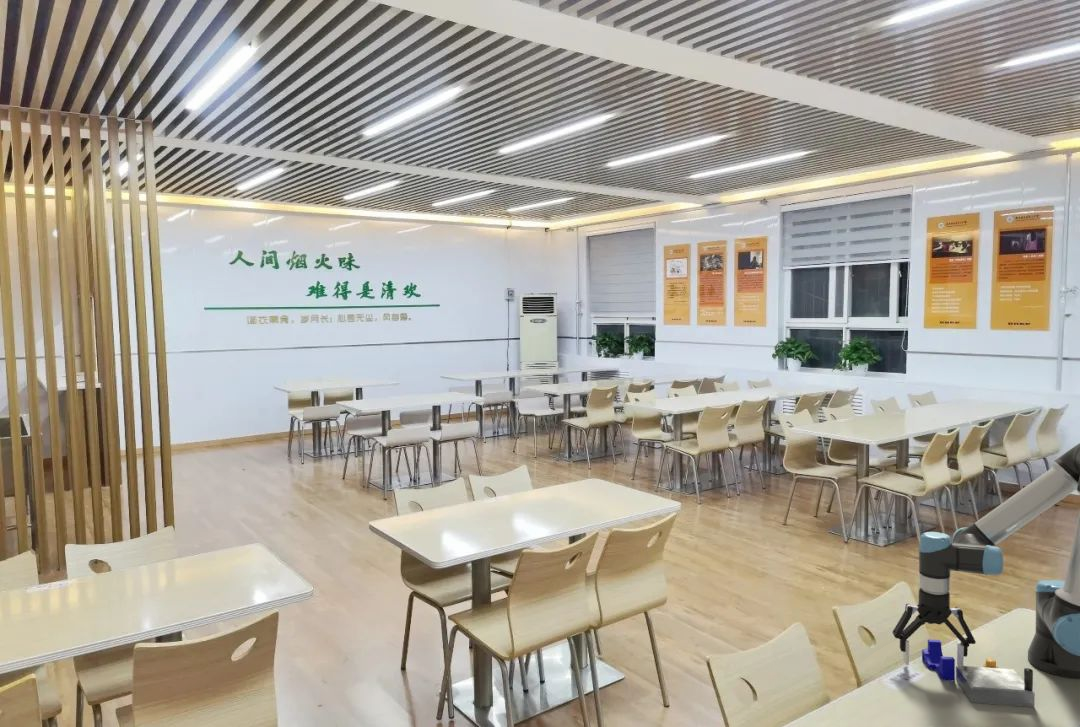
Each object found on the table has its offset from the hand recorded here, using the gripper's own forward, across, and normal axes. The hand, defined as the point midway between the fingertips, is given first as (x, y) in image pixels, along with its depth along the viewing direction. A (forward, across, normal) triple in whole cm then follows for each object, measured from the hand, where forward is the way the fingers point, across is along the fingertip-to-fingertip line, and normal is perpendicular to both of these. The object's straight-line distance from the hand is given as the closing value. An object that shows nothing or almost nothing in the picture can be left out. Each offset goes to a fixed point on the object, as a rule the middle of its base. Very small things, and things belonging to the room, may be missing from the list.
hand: (932, 664), depth 201 cm
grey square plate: (+1, -11, +11) cm, 16 cm away
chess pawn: (+1, -14, 0) cm, 14 cm away
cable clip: (+2, -1, 0) cm, 2 cm away
